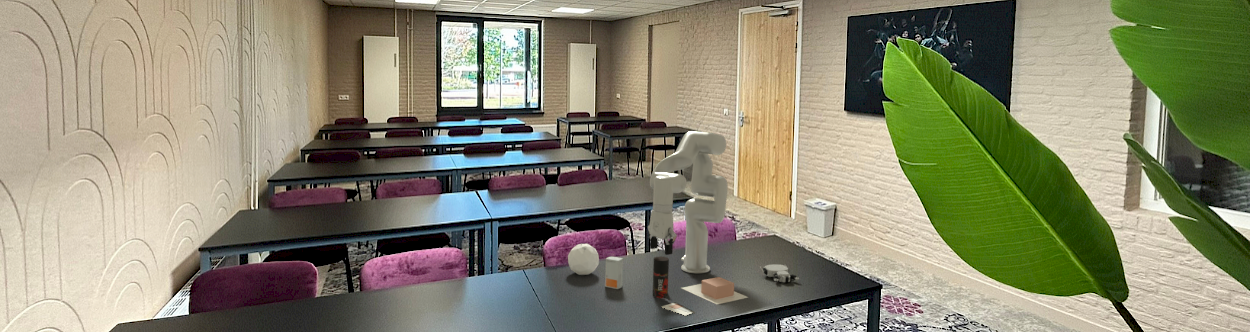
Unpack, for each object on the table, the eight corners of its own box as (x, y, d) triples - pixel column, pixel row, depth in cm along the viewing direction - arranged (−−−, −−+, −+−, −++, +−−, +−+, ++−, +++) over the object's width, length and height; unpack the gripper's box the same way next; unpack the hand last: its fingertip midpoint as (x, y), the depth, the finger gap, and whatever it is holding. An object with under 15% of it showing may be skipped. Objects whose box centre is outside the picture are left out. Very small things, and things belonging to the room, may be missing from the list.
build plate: (680, 290, 291) (680, 287, 291) (711, 284, 300) (711, 281, 300) (716, 307, 273) (716, 304, 273) (748, 299, 282) (748, 297, 282)
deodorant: (655, 298, 281) (656, 261, 278) (650, 293, 286) (651, 256, 284) (669, 297, 282) (671, 260, 280) (664, 292, 288) (666, 256, 286)
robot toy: (800, 285, 304) (783, 272, 318) (801, 275, 303) (784, 262, 317) (773, 287, 301) (758, 274, 315) (774, 277, 300) (759, 264, 314)
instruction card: (661, 307, 271) (661, 306, 271) (677, 302, 277) (677, 301, 277) (685, 316, 263) (685, 315, 263) (701, 310, 269) (701, 309, 269)
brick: (701, 292, 286) (701, 280, 285) (718, 288, 291) (719, 276, 290) (716, 299, 279) (716, 286, 278) (733, 295, 284) (734, 283, 283)
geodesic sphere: (607, 266, 302) (600, 236, 308) (575, 269, 297) (569, 238, 303) (597, 278, 314) (591, 248, 320) (567, 281, 309) (561, 251, 315)
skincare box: (604, 287, 293) (605, 258, 291) (609, 284, 297) (610, 255, 295) (617, 289, 290) (618, 260, 288) (622, 286, 294) (623, 258, 292)
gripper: (641, 204, 284) (640, 247, 286) (668, 213, 269) (666, 257, 272) (657, 203, 288) (655, 245, 290) (684, 211, 274) (682, 255, 276)
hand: (661, 251), depth 281 cm, fingers open, 9 cm apart
